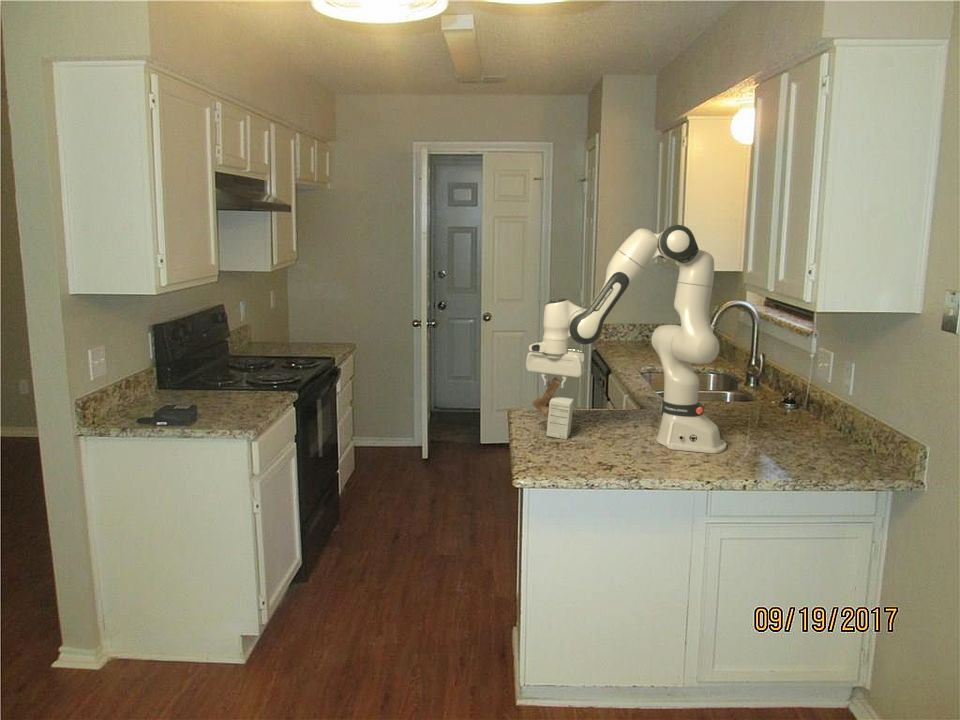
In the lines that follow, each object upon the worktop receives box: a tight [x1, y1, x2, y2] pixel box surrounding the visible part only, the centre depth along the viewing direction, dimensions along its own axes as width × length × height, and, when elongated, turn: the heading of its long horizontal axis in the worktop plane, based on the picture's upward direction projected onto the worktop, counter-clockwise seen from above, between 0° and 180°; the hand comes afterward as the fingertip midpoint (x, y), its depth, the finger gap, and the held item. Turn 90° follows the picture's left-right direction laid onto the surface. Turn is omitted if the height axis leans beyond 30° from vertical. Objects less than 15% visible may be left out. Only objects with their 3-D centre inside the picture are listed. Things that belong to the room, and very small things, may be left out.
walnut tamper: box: [531, 377, 562, 415], centre depth 256 cm, size 6×6×12 cm
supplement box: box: [545, 395, 575, 440], centre depth 256 cm, size 7×7×13 cm
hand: (554, 386), depth 255 cm, fingers closed on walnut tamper, 4 cm apart
